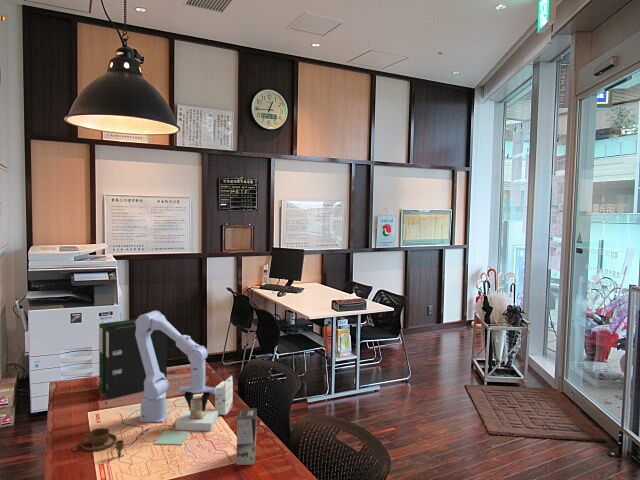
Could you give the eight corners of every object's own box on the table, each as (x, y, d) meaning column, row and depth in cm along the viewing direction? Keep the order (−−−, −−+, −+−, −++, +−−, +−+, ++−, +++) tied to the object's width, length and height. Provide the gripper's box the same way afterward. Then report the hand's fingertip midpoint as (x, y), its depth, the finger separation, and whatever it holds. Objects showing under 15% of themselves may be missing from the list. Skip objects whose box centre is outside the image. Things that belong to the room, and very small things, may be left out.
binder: (155, 378, 243) (155, 316, 241) (167, 386, 232) (168, 322, 230) (99, 390, 225) (99, 323, 223) (109, 400, 214) (109, 329, 212)
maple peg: (190, 422, 190) (190, 400, 190) (193, 417, 195) (193, 396, 194) (201, 422, 190) (201, 400, 190) (204, 417, 195) (204, 396, 194)
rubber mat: (154, 444, 174) (154, 443, 174) (163, 431, 184) (163, 430, 184) (181, 445, 174) (181, 444, 174) (189, 432, 184) (189, 431, 184)
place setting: (125, 434, 183) (125, 419, 183) (125, 459, 165) (125, 442, 164) (74, 441, 176) (74, 426, 176) (68, 468, 158) (68, 451, 157)
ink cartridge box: (222, 406, 210) (222, 373, 209) (232, 407, 209) (233, 374, 208) (214, 414, 202) (214, 380, 201) (225, 415, 201) (225, 381, 200)
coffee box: (254, 464, 162) (255, 419, 161) (235, 465, 161) (236, 419, 161) (256, 451, 171) (257, 407, 170) (238, 451, 171) (239, 408, 170)
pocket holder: (175, 429, 186) (175, 422, 186) (184, 416, 198) (184, 409, 198) (211, 430, 186) (211, 423, 186) (217, 417, 198) (218, 410, 198)
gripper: (176, 380, 187) (176, 413, 188) (213, 381, 187) (213, 415, 188) (182, 374, 194) (181, 406, 195) (217, 375, 194) (217, 407, 195)
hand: (197, 410), depth 192 cm, fingers closed on maple peg, 4 cm apart
